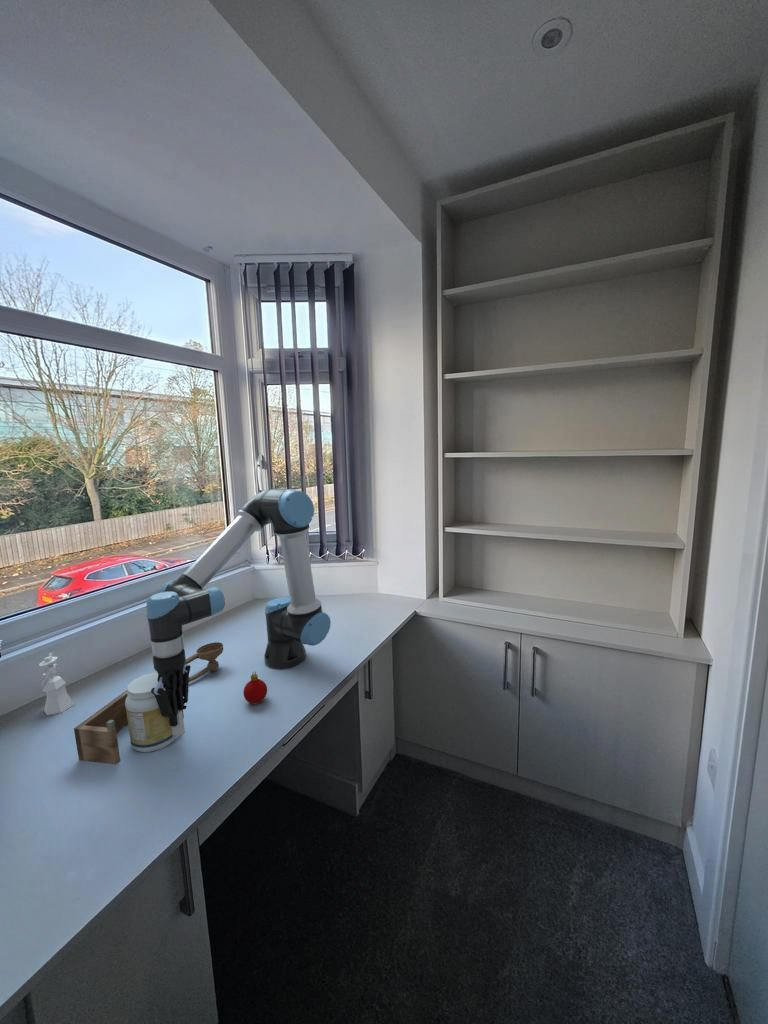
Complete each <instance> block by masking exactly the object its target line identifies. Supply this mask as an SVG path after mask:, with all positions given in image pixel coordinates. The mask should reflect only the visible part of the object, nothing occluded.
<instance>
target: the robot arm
mask: <svg viewBox="0 0 768 1024" xmlns="http://www.w3.org/2000/svg"><path fill="white" fill-rule="evenodd" d="M314 516H315V505H314V503H313V500H312V499H311V497H310V495H308V494H307V493H305V492H304V491H301V490H297V489H293V488H290V489H288V488H286V489H285V488H267V489H264V490H262V491H260V492H258V493H257V494H255V495H254V496H253V497H251V498H250V499H248V501H247V502H246V503H245V504H243V506H242V507H241V508H240V509H239V510H238V511H237V512H236V517H235V519H234V520H233V521H232V522H230V524H229V525H227V527H226V528H225V529H224V530H223V531H222V532H221V533H220V534H219V535H218V536H217V537H216V539H215V540H214V541H212V543H210V545H208V546H207V548H206V549H205V550H204V551H203V552H202V553H201V554H200V555H199V556H198V557H197V558H196V560H194V562H193V563H192V564H191V565H189V567H188V568H186V570H185V571H184V572H182V574H181V575H180V576H179V577H178V578H177V579H176V580H169V581H168V582H165V583H164V584H163V585H162V587H161V589H160V591H159V592H157V593H155V594H152V595H150V596H149V597H148V598H147V599H146V607H145V609H146V618H147V623H148V624H147V625H148V632H149V637H150V644H151V645H150V647H151V651H152V652H151V653H152V655H153V656H152V664H153V669H154V671H155V672H157V673H158V678H157V681H158V684H157V686H156V688H152V689H151V693H152V694H153V695H155V698H156V700H157V703H158V706H159V709H160V711H161V714H162V716H163V717H169V721H170V726H172V735H176V736H178V737H182V736H183V735H184V734H185V732H186V731H185V730H186V729H185V721H184V718H185V717H184V716H185V715H184V710H186V709H187V707H188V706H187V705H186V704H187V703H188V701H189V687H190V686H189V684H190V682H189V677H190V671H191V665H189V664H185V662H186V659H187V658H186V652H185V651H186V650H185V641H184V633H183V626H185V625H188V624H191V623H194V622H196V621H199V620H203V619H206V618H209V617H213V616H214V615H216V614H218V613H221V612H223V610H224V608H225V605H226V601H225V600H226V599H225V596H224V593H223V591H222V590H221V588H219V587H216V586H213V587H212V586H211V587H206V586H207V585H208V584H209V583H210V582H211V581H212V580H213V578H214V577H215V576H217V575H218V573H219V572H220V571H221V570H222V569H223V568H224V566H225V565H226V564H227V563H229V561H230V560H231V559H232V558H233V556H235V554H237V552H238V551H239V550H240V549H241V548H242V547H243V546H244V545H245V543H246V542H247V541H248V540H249V539H250V538H251V537H252V536H253V535H254V533H256V532H260V531H261V530H262V529H263V528H264V527H265V526H267V525H269V524H272V529H273V530H272V531H273V534H274V535H276V536H277V537H278V538H279V541H280V548H281V553H282V558H283V559H282V560H283V566H284V571H285V577H286V583H287V589H288V595H289V596H281V597H278V598H274V599H272V600H269V601H268V602H267V603H266V604H265V609H264V610H265V612H264V614H265V622H266V623H265V624H266V635H267V644H266V646H265V647H266V648H265V652H264V656H263V659H264V664H265V665H266V667H269V668H272V669H278V670H280V669H289V668H293V667H295V666H299V665H300V664H301V663H302V662H304V660H306V658H307V652H306V647H305V646H304V645H308V646H311V647H312V646H317V645H319V644H321V643H322V642H323V641H324V640H325V639H326V637H327V636H328V634H329V631H330V629H331V618H330V616H329V614H327V612H323V608H322V607H323V606H322V602H321V600H319V599H318V598H317V597H316V592H315V585H314V578H313V577H314V576H313V572H312V567H311V559H310V554H309V553H310V552H309V546H308V545H309V544H308V541H307V539H308V538H307V532H308V530H309V529H310V523H311V522H312V521H313V517H314ZM184 664H185V665H184Z"/></svg>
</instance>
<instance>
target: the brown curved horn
mask: <svg viewBox="0 0 768 1024" xmlns="http://www.w3.org/2000/svg"><path fill="white" fill-rule="evenodd" d="M223 651H224V644H223V643H222V642H218V641H216V642H210V643H206V644H204V645H202V646H200V647H199V648H197V650H196V652H195V653H194V654H192V655H190V656H189V657H187V658H186V662H185V664H184V665H188V663H190V662H192V661H193V660H195V659H197V658H199V659H198V660H203V661H207V662H208V663H207V665H206V666H207V667H205V668H203V669H202V670H200V671H198V672H197V673H195V674H194V675H190V676H189V683H190V682H193V681H196V680H197V679H199V678H201V677H202V676H203V675H205V674H207V673H208V672H215V671H217V670H218V668H219V666H220V664H219V661H218V660H216V659H218V657H219V656H221V655H222V654H223Z"/></svg>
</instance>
